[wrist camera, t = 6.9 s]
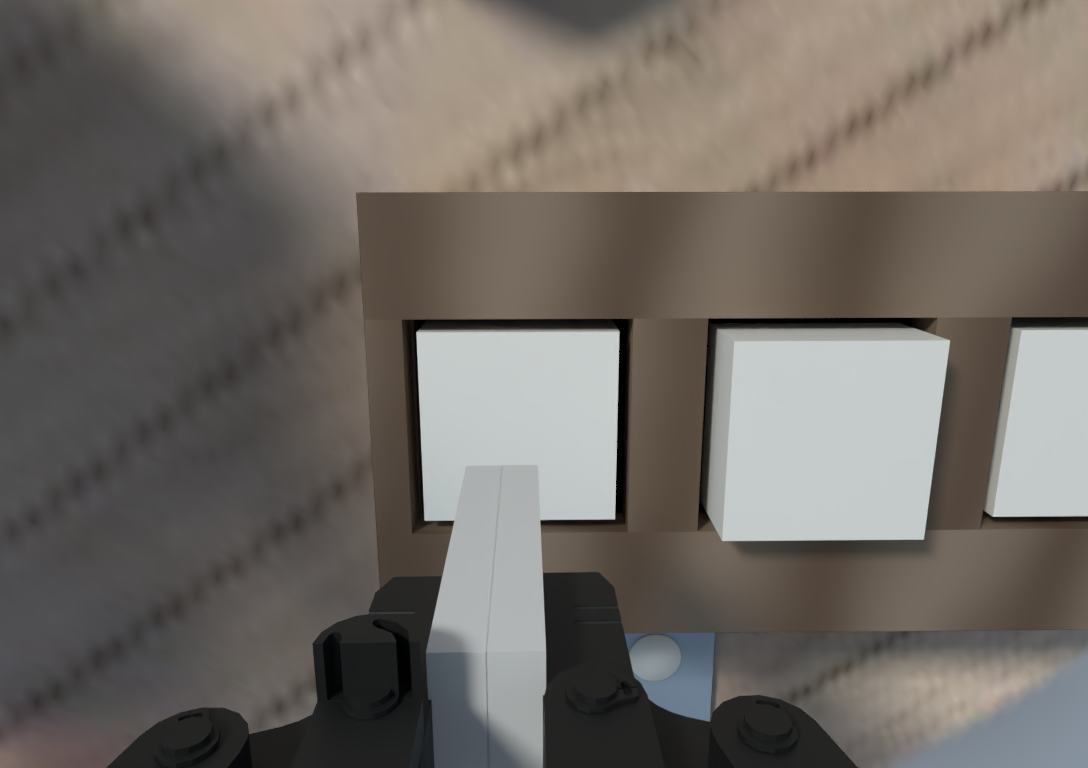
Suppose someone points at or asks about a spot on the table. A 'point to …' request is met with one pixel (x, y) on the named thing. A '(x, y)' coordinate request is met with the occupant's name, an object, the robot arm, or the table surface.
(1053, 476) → the outer button
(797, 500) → the middle button
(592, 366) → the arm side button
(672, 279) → the button box
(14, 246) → the table surface
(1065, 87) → the table surface
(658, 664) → the pattern card
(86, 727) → the table surface
